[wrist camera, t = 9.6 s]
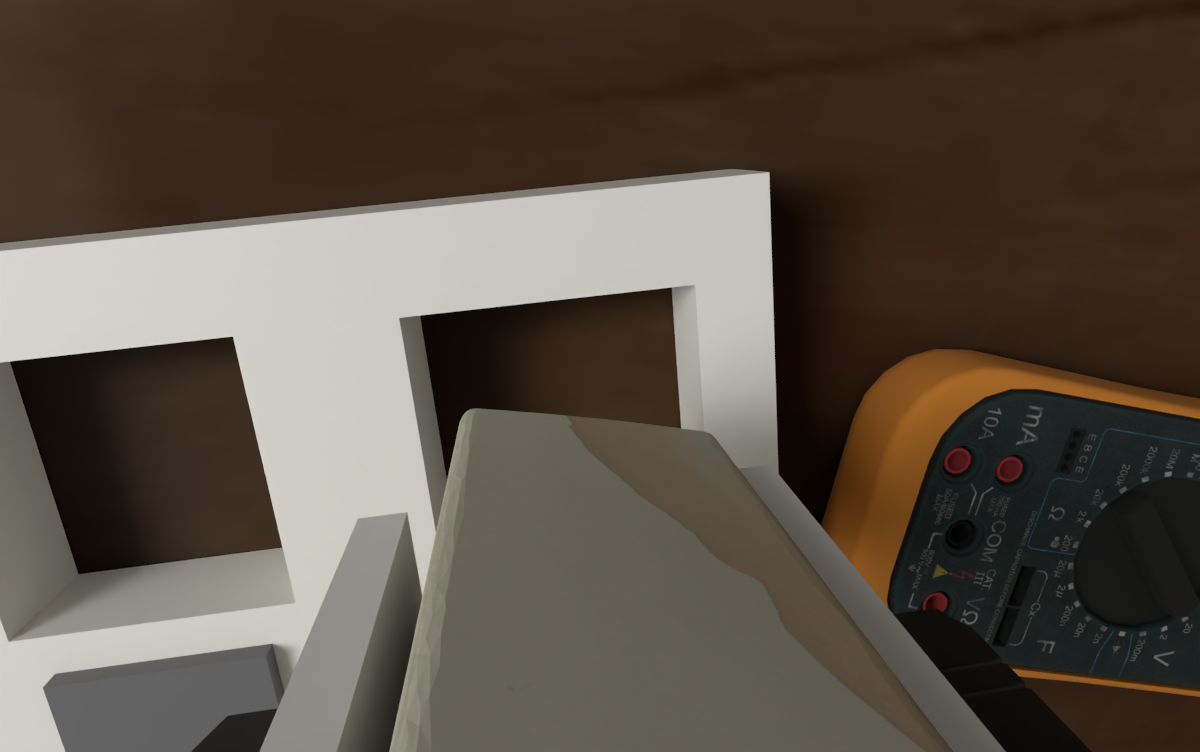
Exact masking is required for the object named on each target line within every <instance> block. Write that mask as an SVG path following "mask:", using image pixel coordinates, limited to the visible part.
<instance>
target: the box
mask: <svg viewBox="0 0 1200 752" xmlns="http://www.w3.org/2000/svg"><path fill="white" fill-rule="evenodd" d="M389 752H953V751H952V749H951V748H950V747H949V745H948V744H947V743H946V741H945V740H944V739H943V737H942V736H941V735H940V734H939V732H938V731H937V730H936V728H935V727H934V726H933V725H932V723H931V722H930V721H929V719H928V718H927V717H926V715H925V714H924V713H923V712H922V710H921V709H920V708H919V706H918V705H917V704H916V702H915V701H914V700H913V698H912V697H911V695H910V694H909V693H908V691H907V690H906V689H905V687H904V686H903V685H902V683H901V682H900V681H899V679H898V678H897V677H896V675H895V674H894V673H893V672H892V670H891V669H890V668H889V666H888V665H887V664H886V662H885V661H884V660H883V658H882V657H881V656H880V654H879V653H878V652H877V650H876V649H875V647H874V646H873V645H872V643H871V642H870V641H869V639H868V638H867V637H866V636H865V634H864V633H863V632H862V631H861V629H860V628H859V627H858V626H857V624H856V623H855V621H854V620H853V619H852V617H851V616H850V615H849V613H848V612H847V611H846V610H845V608H844V607H843V606H842V605H841V604H840V602H839V601H838V600H837V598H836V597H835V595H834V594H833V593H832V591H831V590H830V589H829V587H828V586H827V585H826V583H825V582H824V581H823V579H822V578H821V577H820V575H819V574H818V573H817V571H816V570H815V569H814V567H813V566H812V565H811V563H810V562H809V561H808V559H807V558H806V557H805V555H804V554H803V553H802V551H801V550H800V549H799V547H798V546H797V545H796V543H795V542H794V541H793V539H792V538H791V537H790V536H789V534H788V533H787V532H786V530H785V529H784V528H783V526H782V525H781V524H780V522H779V521H778V520H777V519H776V517H775V516H774V515H773V513H772V512H771V511H770V509H769V508H768V507H767V505H766V504H765V503H764V502H763V500H762V499H761V498H760V497H759V495H758V494H757V493H756V491H755V490H754V489H753V487H752V486H751V485H750V483H749V482H748V480H747V479H746V478H745V477H744V475H743V474H742V473H741V471H740V470H739V469H738V467H737V466H736V465H735V464H734V462H733V461H732V460H731V458H730V457H729V455H728V454H727V453H726V451H725V450H724V449H723V448H722V446H721V445H720V444H719V442H718V441H717V440H716V438H715V437H714V436H713V435H712V434H710V433H707V432H704V431H697V430H689V429H681V428H674V427H666V426H658V425H649V424H641V423H633V422H625V421H615V420H606V419H596V418H585V417H576V416H566V415H554V414H543V413H532V412H518V411H506V410H492V409H479V408H476V409H470V410H468V411H466V413H465V414H464V415H463V416H462V418H461V421H460V423H459V428H458V432H457V437H456V442H455V446H454V451H453V455H452V460H451V465H450V469H449V474H448V479H447V483H446V488H445V493H444V497H443V502H442V507H441V511H440V516H439V521H438V526H437V530H436V535H435V540H434V544H433V549H432V554H431V558H430V563H429V568H428V572H427V577H426V582H425V587H424V591H423V596H422V601H421V605H420V610H419V615H418V619H417V624H416V629H415V634H414V639H413V644H412V648H411V653H410V658H409V663H408V667H407V672H406V676H405V681H404V686H403V690H402V695H401V699H400V704H399V709H398V713H397V718H396V722H395V727H394V732H393V736H392V741H391V746H390V750H389Z"/></svg>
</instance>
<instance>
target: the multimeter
mask: <svg viewBox="0 0 1200 752" xmlns="http://www.w3.org/2000/svg"><path fill="white" fill-rule="evenodd" d="M821 527H822V528H823V529H824V530H825V532H826V533H827V534H828V535H829V537H830V538H831V539H832V540H833V541H834V543H835V544H836V545H837V546H838V548H839V549H840V550H841V551H842V552H843V554H844V555H845V556H846V557H847V559H848V560H849V561H850V562H851V563H852V565H853V566H854V567H855V568H856V570H857V571H858V572H859V573H860V574H861V576H862V577H863V578H864V579H865V580H866V582H867V583H868V584H869V585H870V587H871V588H872V589H873V590H874V591H875V593H876V594H877V595H878V596H879V598H880V599H881V600H882V601H883V602H884V604H885V605H886V606H887V607H888V609H889V610H890V611H891V612H892V613H893V614H897V613H904V612H911V611H918V610H924V609H931V608H936V609H938V610H940V611H942V612H943V613H945V614H947V615H949V616H951V617H952V618H954V619H956V620H958V621H960V622H961V623H963V624H965V625H967V626H969V627H970V628H972V629H974V630H975V631H976V632H977V633H978V634H979V635H980V636H981V637H982V638H983V639H984V640H985V642H986V643H987V644H988V645H989V646H990V647H991V648H992V649H993V650H994V651H995V652H996V653H997V654H998V655H999V656H1000V657H1001V660H1002V663H1003V664H1008V665H1009V666H1010V667H1011V669H1012V670H1013V671H1014V672H1015V673H1016V674H1017V675H1018V676H1019V677H1028V678H1039V679H1050V680H1061V681H1071V682H1081V683H1089V684H1098V685H1106V686H1114V687H1122V688H1131V689H1139V690H1147V691H1155V692H1164V693H1172V694H1180V695H1188V696H1197V697H1200V398H1194V397H1189V396H1183V395H1178V394H1172V393H1167V392H1162V391H1156V390H1151V389H1145V388H1141V387H1136V386H1132V385H1127V384H1123V383H1118V382H1114V381H1109V380H1105V379H1100V378H1095V377H1091V376H1086V375H1082V374H1077V373H1073V372H1068V371H1064V370H1059V369H1055V368H1050V367H1046V366H1041V365H1037V364H1032V363H1027V362H1023V361H1018V360H1014V359H1009V358H1005V357H1000V356H996V355H991V354H987V353H982V352H978V351H973V350H963V349H932V350H929V351H926V352H922V353H919V354H915V355H912V356H909V357H907V358H905V359H904V360H902V361H900V362H899V363H897V364H896V365H894V366H893V367H891V368H890V369H888V370H887V371H885V372H884V373H883V374H882V375H881V376H880V377H879V378H878V379H877V381H876V382H875V383H874V384H873V385H872V386H871V387H870V389H869V390H868V391H867V392H866V393H865V395H864V397H863V399H862V401H861V403H860V405H859V407H858V410H857V412H856V414H855V416H854V418H853V421H852V424H851V427H850V431H849V434H848V437H847V441H846V444H845V447H844V451H843V454H842V457H841V461H840V464H839V467H838V471H837V474H836V477H835V480H834V484H833V487H832V490H831V494H830V497H829V500H828V504H827V507H826V510H825V514H824V517H823V520H822V524H821Z"/></svg>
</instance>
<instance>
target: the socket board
mask: <svg viewBox="0 0 1200 752" xmlns="http://www.w3.org/2000/svg"><path fill="white" fill-rule="evenodd" d="M671 287H672V300H673V314H674V329H675V344H676V358H677V373H678V388H679V402H680V417H681V429H689V430H697V431H704V432H707V433H710V434H712V435H713V436H714V437H715V438H716V440H717V441H718V442H719V444H720V445H721V446H722V448H723V449H724V450H725V451H726V453H727V454H728V455H729V457H730V458H731V460H732V461H733V462H734V464H735V465H736V466H737V467H738V469H739V468H746V467H754V466H762V465H769V464H771V466H772V467H773V468H774V469H775V471H776V472H777V473H778V474H779V472H778V440H777V407H776V374H775V342H774V309H773V276H772V244H771V211H770V178H769V172H761V171H750V170H739V169H727V170H717V171H707V172H697V173H687V174H678V175H668V176H658V177H648V178H638V179H628V180H619V181H609V182H599V183H589V184H579V185H569V186H560V187H550V188H540V189H530V190H520V191H510V192H501V193H491V194H481V195H471V196H461V197H452V198H442V199H432V200H422V201H412V202H402V203H393V204H383V205H373V206H363V207H353V208H343V209H334V210H324V211H314V212H304V213H294V214H284V215H275V216H265V217H255V218H245V219H235V220H226V221H216V222H206V223H196V224H186V225H176V226H167V227H157V228H147V229H137V230H127V231H117V232H108V233H98V234H88V235H78V236H68V237H58V238H49V239H39V240H29V241H19V242H9V243H0V752H192V750H193V749H194V748H195V747H196V746H197V745H198V744H199V743H200V742H201V741H202V740H203V739H204V738H205V737H206V736H207V735H208V734H209V733H210V732H211V731H212V730H213V729H215V728H216V727H217V726H218V725H219V724H220V723H221V722H222V721H223V720H224V719H225V718H226V717H227V716H229V715H236V714H243V713H249V712H256V711H263V710H270V709H276V708H278V707H279V704H280V702H281V700H282V697H283V695H284V692H285V690H286V688H287V685H288V683H289V681H290V678H291V676H292V674H293V671H294V669H295V666H296V664H297V662H298V659H299V657H300V655H301V652H302V650H303V648H304V645H305V643H306V640H307V638H308V636H309V633H310V631H311V629H312V626H313V624H314V622H315V619H316V617H317V614H318V612H319V610H320V607H321V605H322V603H323V600H324V598H325V595H326V593H327V591H328V588H329V586H330V584H331V581H332V579H333V577H334V574H335V572H336V569H337V567H338V565H339V562H340V560H341V558H342V555H343V553H344V551H345V548H346V546H347V543H348V541H349V539H350V536H351V534H352V532H353V529H354V527H355V525H356V522H357V520H358V519H359V518H366V517H374V516H382V515H389V514H397V513H404V512H407V514H408V519H409V525H410V530H411V536H412V541H413V547H414V552H415V558H416V563H417V569H418V574H419V580H420V585H421V591H422V596H423V591H424V587H425V582H426V577H427V572H428V568H429V563H430V558H431V554H432V549H433V544H434V540H435V535H436V530H437V526H438V521H439V516H440V511H441V507H442V502H443V497H444V493H445V488H446V483H447V478H446V472H445V465H444V459H443V453H442V447H441V441H440V435H439V429H438V423H437V416H436V410H435V404H434V398H433V392H432V386H431V380H430V374H429V367H428V361H427V355H426V349H425V343H424V337H423V331H422V325H421V319H420V316H421V315H430V314H438V313H447V312H456V311H465V310H474V309H483V308H492V307H501V306H510V305H519V304H528V303H537V302H546V301H555V300H564V299H572V298H581V297H590V296H599V295H608V294H617V293H626V292H635V291H644V290H653V289H662V288H671ZM224 337H233V339H234V343H235V347H236V352H237V356H238V360H239V364H240V369H241V373H242V377H243V381H244V386H245V390H246V394H247V398H248V403H249V407H250V411H251V415H252V420H253V424H254V428H255V432H256V437H257V441H258V445H259V449H260V454H261V458H262V462H263V466H264V471H265V475H266V479H267V483H268V488H269V492H270V496H271V500H272V505H273V509H274V513H275V517H276V522H277V526H278V530H279V534H280V539H281V543H282V547H283V548H275V549H268V550H260V551H252V552H245V553H237V554H229V555H222V556H214V557H207V558H199V559H191V560H184V561H176V562H168V563H161V564H153V565H145V566H138V567H130V568H122V569H115V570H107V571H99V572H92V573H84V574H78V571H77V568H76V565H75V562H74V559H73V556H72V553H71V550H70V547H69V543H68V540H67V537H66V534H65V531H64V528H63V525H62V522H61V519H60V516H59V512H58V509H57V506H56V503H55V500H54V497H53V494H52V491H51V488H50V485H49V482H48V478H47V475H46V472H45V469H44V466H43V463H42V460H41V457H40V454H39V451H38V447H37V444H36V441H35V438H34V435H33V432H32V429H31V426H30V423H29V420H28V416H27V413H26V410H25V407H24V404H23V401H22V398H21V395H20V392H19V389H18V386H17V382H16V379H15V376H14V373H13V370H12V367H11V364H10V361H18V360H27V359H36V358H45V357H54V356H63V355H72V354H81V353H90V352H99V351H108V350H117V349H126V348H135V347H144V346H152V345H161V344H170V343H179V342H188V341H197V340H206V339H215V338H224Z"/></svg>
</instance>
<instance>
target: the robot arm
mask: <svg viewBox="0 0 1200 752" xmlns="http://www.w3.org/2000/svg"><path fill="white" fill-rule="evenodd" d="M739 470H740V471H741V473H742V474H743V475H744V477H745V478H746V479H747V480H748V482H749V483H750V485H751V486H752V487H753V489H754V490H755V491H756V493H757V494H758V495H759V497H760V498H761V499H762V500H763V502H764V503H765V504H766V505H767V507H768V508H769V509H770V511H771V512H772V513H773V515H774V516H775V517H776V519H777V520H778V521H779V522H780V524H781V525H782V526H783V528H784V529H785V530H786V532H787V533H788V534H789V536H790V537H791V538H792V539H793V541H794V542H795V543H796V545H797V546H798V547H799V549H800V550H801V551H802V553H803V554H804V555H805V557H806V558H807V559H808V561H809V562H810V563H811V565H812V566H813V567H814V569H815V570H816V571H817V573H818V574H819V575H820V577H821V578H822V579H823V581H824V582H825V583H826V585H827V586H828V587H829V589H830V590H831V591H832V593H833V594H834V595H835V597H836V598H837V600H838V601H839V602H840V604H841V605H842V606H843V607H844V608H845V610H846V611H847V612H848V613H849V615H850V616H851V617H852V619H853V620H854V621H855V623H856V624H857V626H858V627H859V628H860V629H861V631H862V632H863V633H864V634H865V636H866V637H867V638H868V639H869V641H870V642H871V643H872V645H873V646H874V647H875V649H876V650H877V652H878V653H879V654H880V656H881V657H882V658H883V660H884V661H885V662H886V664H887V665H888V666H889V668H890V669H891V670H892V672H893V673H894V674H895V675H896V677H897V678H898V679H899V681H900V682H901V683H902V685H903V686H904V687H905V689H906V690H907V691H908V693H909V694H910V695H911V697H912V698H913V700H914V701H915V702H916V704H917V705H918V706H919V708H920V709H921V710H922V712H923V713H924V714H925V715H926V717H927V718H928V719H929V721H930V722H931V723H932V725H933V726H934V727H935V728H936V730H937V731H938V732H939V734H940V735H941V736H942V737H943V739H944V740H945V741H946V743H947V744H948V745H949V747H950V748H951V749H952V751H953V752H1091V751H1090V750H1089V749H1088V748H1087V747H1086V745H1085V744H1084V743H1083V742H1082V741H1081V740H1080V739H1079V738H1078V737H1077V736H1076V735H1075V734H1074V733H1073V732H1072V731H1071V730H1070V729H1069V728H1068V727H1067V726H1066V725H1065V724H1064V723H1063V722H1062V721H1061V719H1060V718H1059V717H1058V716H1057V715H1056V714H1055V713H1054V712H1053V711H1052V710H1051V709H1050V708H1049V707H1048V706H1047V705H1046V704H1045V703H1044V702H1043V701H1042V700H1041V699H1040V698H1039V697H1038V696H1037V695H1036V693H1035V692H1034V691H1033V690H1032V689H1031V688H1029V689H1027V688H1026V687H1025V682H1024V681H1023V680H1022V679H1021V678H1020V677H1019V676H1018V675H1017V674H1016V673H1015V672H1014V671H1013V670H1012V669H1011V667H1010V666H1009V665H1008V664H1003V663H1002V660H1001V657H1000V656H999V655H998V654H997V653H996V652H995V651H994V650H993V649H992V648H991V647H990V646H989V645H988V644H987V643H986V642H985V640H984V639H983V638H982V637H981V636H980V635H979V634H978V633H977V632H976V631H975V630H974V629H972V628H970V627H969V626H967V625H965V624H963V623H961V622H960V621H958V620H956V619H954V618H952V617H951V616H949V615H947V614H945V613H943V612H942V611H940V610H938V609H936V608H931V609H924V610H918V611H911V612H904V613H897V614H893V613H892V612H891V611H890V610H889V609H888V607H887V606H886V605H885V604H884V602H883V601H882V600H881V599H880V598H879V596H878V595H877V594H876V593H875V591H874V590H873V589H872V588H871V587H870V585H869V584H868V583H867V582H866V580H865V579H864V578H863V577H862V576H861V574H860V573H859V572H858V571H857V570H856V568H855V567H854V566H853V565H852V563H851V562H850V561H849V560H848V559H847V557H846V556H845V555H844V554H843V552H842V551H841V550H840V549H839V548H838V546H837V545H836V544H835V543H834V541H833V540H832V539H831V538H830V537H829V535H828V534H827V533H826V532H825V530H824V529H823V528H822V527H821V526H820V524H819V523H818V522H817V521H816V519H815V518H814V517H813V516H812V515H811V513H810V512H809V511H808V510H807V508H806V507H805V506H804V505H803V504H802V502H801V501H800V500H799V499H798V497H797V496H796V495H795V494H794V493H793V491H792V490H791V489H790V488H789V486H788V485H787V484H786V483H785V482H784V480H783V479H782V478H781V477H780V475H779V474H778V473H777V472H776V471H775V469H774V468H773V467H772V466H771V464H769V465H762V466H754V467H746V468H739ZM421 601H422V591H421V585H420V580H419V574H418V569H417V563H416V558H415V552H414V547H413V541H412V536H411V530H410V525H409V519H408V514H407V512H404V513H397V514H389V515H382V516H374V517H366V518H359V519H358V520H357V522H356V525H355V527H354V529H353V532H352V534H351V536H350V539H349V541H348V543H347V546H346V548H345V551H344V553H343V555H342V558H341V560H340V562H339V565H338V567H337V569H336V572H335V574H334V577H333V579H332V581H331V584H330V586H329V588H328V591H327V593H326V595H325V598H324V600H323V603H322V605H321V607H320V610H319V612H318V614H317V617H316V619H315V622H314V624H313V626H312V629H311V631H310V633H309V636H308V638H307V640H306V643H305V645H304V648H303V650H302V652H301V655H300V657H299V659H298V662H297V664H296V666H295V669H294V671H293V674H292V676H291V678H290V681H289V683H288V685H287V688H286V690H285V692H284V695H283V697H282V700H281V702H280V704H279V707H278V708H276V709H270V710H263V711H256V712H249V713H243V714H236V715H229V716H227V717H226V718H225V719H224V720H223V721H222V722H221V723H220V724H219V725H218V726H217V727H216V728H215V729H213V730H212V731H211V732H210V733H209V734H208V735H207V736H206V737H205V738H204V739H203V740H202V741H201V742H200V743H199V744H198V745H197V746H196V747H195V748H194V749H193V750H192V752H389V750H390V746H391V741H392V736H393V732H394V727H395V722H396V718H397V713H398V709H399V704H400V699H401V695H402V690H403V686H404V681H405V676H406V672H407V667H408V663H409V658H410V653H411V648H412V644H413V639H414V634H415V629H416V624H417V619H418V615H419V610H420V605H421Z"/></svg>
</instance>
